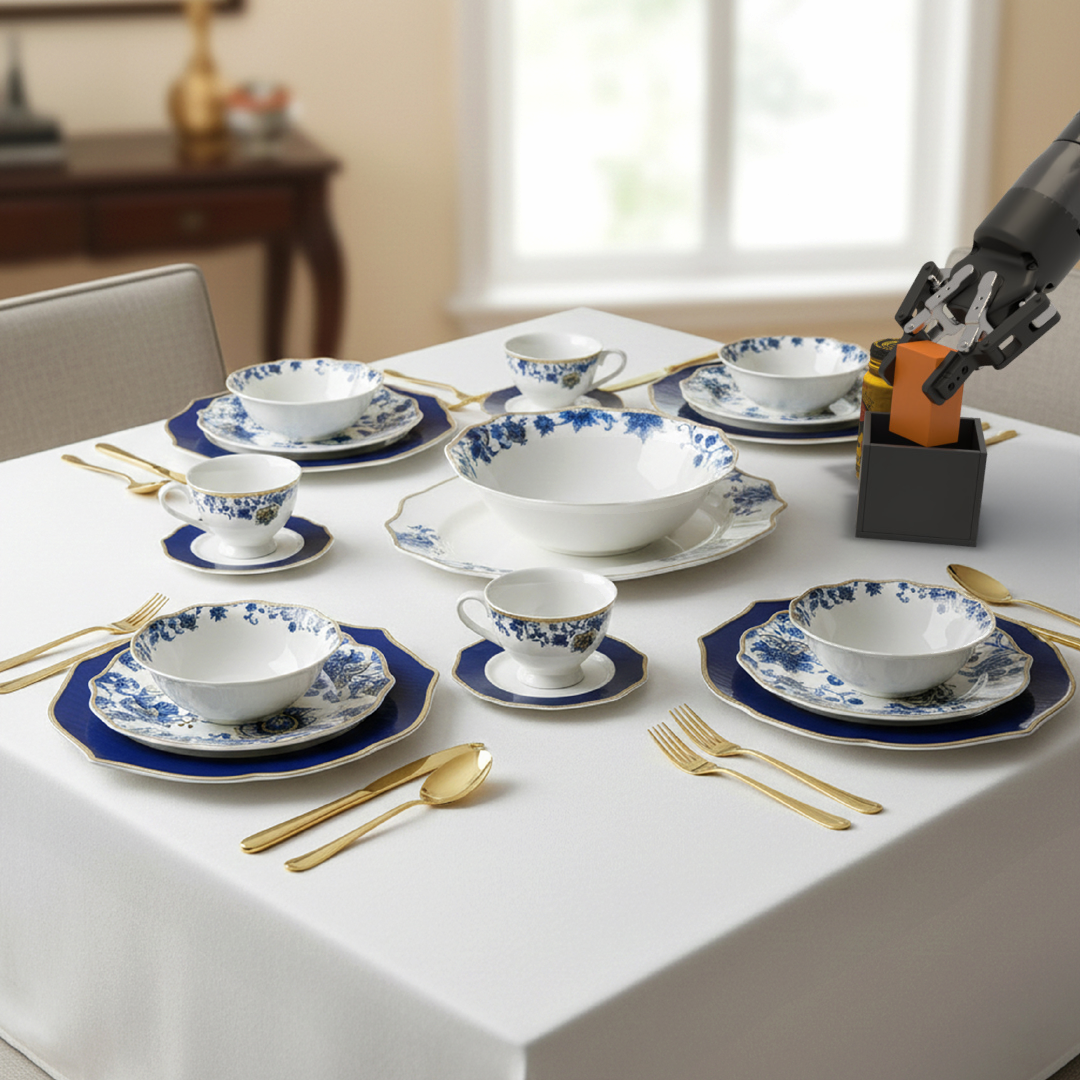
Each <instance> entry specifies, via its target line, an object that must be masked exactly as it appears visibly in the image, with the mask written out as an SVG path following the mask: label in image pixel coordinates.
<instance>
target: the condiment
mask: <svg viewBox="0 0 1080 1080" xmlns="http://www.w3.org/2000/svg"><path fill="white" fill-rule="evenodd" d="M900 339H901V337H899V338H898V337H895V338H893V337H892V338H883V339H878V340H876V341H874V342H872V343H871V345H870V349H869V361H868V363H867V367H868V370H867V371H866V372H865V374H864V375H863V377H862V384H861V396H860V397H861V398H860V411H859V421H858V422H859V423H858V430H857V439H856V441H857V444H856V457H855V471H856V472H855V478H856V480H857V481H859V473H860V462H861V451H862V440H863V429H864V418H865V411H871V412H872V411H877V412H891V404H892V394H893V387H892V386H889V385H888V384H887V383H886V382H885V381H884V380H883V379H882V377H881V376H880V375H879V373H878V369H879V367H880V365H881V362H882V360H883V359H884V358H885V357H886V356H887V354H888V353H889V352H891V350H892V348H893V347H894V346H895V345H896V344H897V342H898V341H899V340H900Z"/></svg>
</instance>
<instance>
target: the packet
mask: <svg viewBox="0 0 1080 1080" xmlns="http://www.w3.org/2000/svg"><path fill="white" fill-rule="evenodd" d="M951 350H952V351H955V352H957V351H958V350H957V349H955V348H952V347H949V346H947V345H943V344H941V343H939V342H937V343H935V342H932V341H929V340H925V341H917V342H910V343H902V344H897V352H896V363H895V374H894V384H893V394H892V404H891V415H890V426H889V431H891V432H893V433H895V434H898V435H900V436H902V437H904V438H907V439H909V440H911V441H913V442H916V443H918V444H920V445H923V446H925V447H932V446H938V445H944V444H949V443H955V442H957V441H958V433H959V424H960V417H961V415H962V405H963V398H964V397H963V396H964V389H965V382H964V383H963V384H962V385H961V387H960V388H959V389H958V390H957V392H956V393H955V394H954V395H953V396H952V397H951V398H950V399H948V400H946V401H945V403H944V404H942V405H940V406H939V405H936V404H934V403H931V402H930V400H929V399H928V398H927V397H926V396H925V394H924V393H923V392H922V385H923V383H924V382H925V381H926V380H927V379H928V377H929V376H930V375H931V374H932V372H933V371H934V370H935V369H936V368H937V367H938V366H939V365H940V363H941V362H942V361H943V360H944V359H945V357H946V356H947V354H948V353H949V352H950V351H951Z"/></svg>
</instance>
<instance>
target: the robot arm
mask: <svg viewBox="0 0 1080 1080" xmlns="http://www.w3.org/2000/svg"><path fill="white" fill-rule="evenodd" d="M972 239H973V240H972V247H971V251H970V252H969V253H968V254H967V255H966V256H965V257H963V258H962V259H961V260H959V261H957V262H956V263H955V264H954V265H953V266H952V267H945V268H939V267H938V266H937V264H936V263H935V261H933V260H930V261H926V262H925V263H924V264H923V265H922V266H921V267H920V269H919V271H918V273H917V275H916V277H915V278H914V280H913V282H912V284H911V286H910V288H909V289H908V292H907V293H906V294H905V296H904V299H902V302H901V303H900V306H899V307H898V309H897V311H896V313H895V315H894V320H895V321H896V323H897V324H898V325H899V327H900V328H901V329H902V330H903V334H902V336H901V337H900V338H901V339H900V340H899V341H898V342H897V344H902V343H910V342H917V341H925V340H929V341H932V342H935V343H939V342H940V341H941V340H942V339H943V338H945V337H946V336H955V335H957V334H958V332H960V331H962V330H963V328H964V330H963V332H962V334H961V337H960V338H959V340H958V342H957V343H956V350H958V351H957V352H955V351H952V350H951V351H950V352H949V353H948V354H947V356H946V357H945V359H944V360H943V361H942V362H941V363H940V365H939V366H938V367H937V368H936V369H935V370H934V371H933V372H932V374H931V375H930V376H929V377H928V379H927V380H926V381H925V382H924V383H923V385H922V392H923V393H924V394H925V396H926V397H927V398H928V399H929V400H930V402H931V403H934V404H936V405H939V406H940V405H942V404H944V403H945V401H946V400H948V399H950V398H951V397H952V396H953V395H954V394H955V393H956V392H957V390H958V389H959V388H960V387H961V385H962V384H963V383H964V384H965V383H966V382H967V380H968V378H969V377H970V376H971V375H972V374H973V372H974V371H976V372H977V371H980V370H983V368H985V367H992V368H993V369H994V370H996V371H1002V370H1003V369H1005V368H1006V367H1007V366H1008V365H1010V364H1011V363H1012V362H1013V361H1015V360H1016V359H1017V358H1018V357H1019V356H1020V355H1021V354H1023V353H1024V352H1025V351H1026V350H1028V349H1029V348H1030V347H1031V346H1032V345H1034V344H1035V343H1036V342H1037V341H1038V340H1039V339H1040V338H1042V337H1043V336H1045V334H1046V333H1048V332H1049V331H1051V330H1052V328H1053V327H1055V326H1056V325H1057V324H1058V323H1059V322H1060V321H1061V318H1062V315H1061V313H1060V312H1059V311H1058V309H1057V307H1056V306H1055V304H1054V302H1052V300H1051V299H1050V298H1049V297H1048V295H1047V294H1050V293H1052V292H1054V291H1055V290H1056V289H1057V288H1058V287H1059V286H1060V285H1061V283H1062V282H1063V280H1064V279H1065V278H1066V277H1067V276H1068V274H1069V273H1070V272H1071V271H1072V270H1073V269H1074V267H1075V266H1076V265H1077V264H1078V263H1079V261H1080V109H1078V111H1076V113H1075V114H1074V116H1072V118H1071V120H1069V122H1068V123H1067V124H1066V125H1065V127H1064V128H1063V129H1062V130H1061V132H1060V133H1058V135H1057V136H1056V138H1054V140H1053V141H1052V142H1051V144H1049V145H1048V147H1046V149H1045V150H1043V151H1042V153H1040V154H1039V155H1038V156H1037V157H1036V158H1035V159H1034V160H1033V161H1031V163H1029V165H1028V166H1027V167H1026V168H1025V170H1023V172H1022V173H1021V174H1020V175H1019V177H1018V178H1017V179H1016V180H1015V181H1014V183H1013V184H1012V185H1011V186H1010V188H1009V189H1008V190H1007V191H1006V192H1005V193H1004V195H1003V196H1002V197H1001V199H1000V200H999V201H997V203H996V204H995V206H993V208H992V209H991V211H990V212H989V213H988V214H987V215H986V217H985V218H984V219H983V220H982V221H981V222H980V224H979V225H978V226H977V228H975V230H974V232H973V237H972ZM944 306H945V307H946V308H947V310H948V311H949V312H950V314H951V315H952V317H950V318H949V317H948V316H947V314H946V313H945V311H944ZM915 311H916V314H915V316H913V315H914V312H915ZM933 321H936V324H935V325H934V326H933V327H932V328H931V329H929V330H928V331H927V332H926V328H927V326H928V325H929V324H930V323H931V322H933ZM1011 336H1012V340H1011V341H1010V342H1009V343H1008V344H1007V345H1006V346H1005V347H1003V348H1002V349H1001V347H1000V346H1001V345H1002V344H1003V343H1004V342H1005V341H1006V340H1008V339H1009V338H1010V337H1011ZM897 344H896V345H895V346H894V347H893V348H892V350H891V352H889V353H888V354H887V356H886V357H885V358H884V359H883V360H882V362H881V365H880V367H879V369H878V373H879V375H880V376H881V377H882V379H883V380H884V381H885V382H886V383H887V384H888V385H889V386H892V387H893V384H894V374H895V363H896V352H897Z"/></svg>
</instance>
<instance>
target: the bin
mask: <svg viewBox="0 0 1080 1080" xmlns="http://www.w3.org/2000/svg"><path fill="white" fill-rule="evenodd" d="M890 415H891V412H877V411H872V412H871V411H865V418H864V429H863V440H862V451H861V462H860V473H859V480H858V484H857V496H856V512H855V513H856V514H855V515H856V516H855V529H854V530H855V533H854V537H855V538H859V539H870V540H882V541H894V542H908V543H918V544H919V543H921V544H931V545H942V546H943V545H945V546H954V547H955V546H956V547H957V546H958V547H970V548H976V547H977V541H978V533H979V525H980V517H981V509H982V501H983V493H984V483H985V477H986V476H985V475H986V468H987V459H988V449H987V444H986V439H985V434H984V430H983V425H982V420H981V418H980V417H967V416H960V424H959V433H958V441H957V442H955V443H949V444H944V445H938V446H932V447H925V446H923V445H920V444H918V443H916V442H913V441H911V440H909V439H907V438H904V437H902V436H900V435H898V434H895V433H893V432H891V431H889V426H890Z"/></svg>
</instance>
